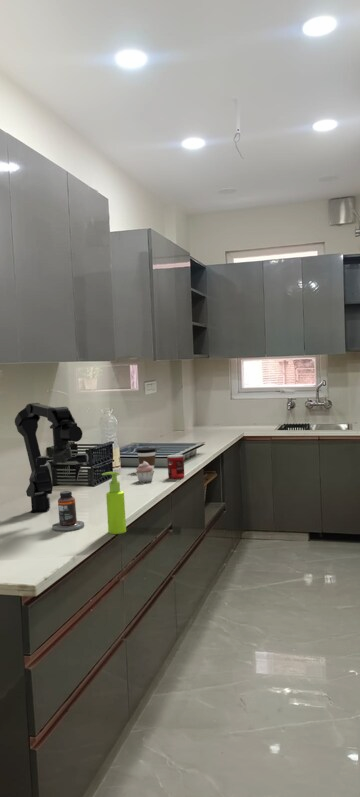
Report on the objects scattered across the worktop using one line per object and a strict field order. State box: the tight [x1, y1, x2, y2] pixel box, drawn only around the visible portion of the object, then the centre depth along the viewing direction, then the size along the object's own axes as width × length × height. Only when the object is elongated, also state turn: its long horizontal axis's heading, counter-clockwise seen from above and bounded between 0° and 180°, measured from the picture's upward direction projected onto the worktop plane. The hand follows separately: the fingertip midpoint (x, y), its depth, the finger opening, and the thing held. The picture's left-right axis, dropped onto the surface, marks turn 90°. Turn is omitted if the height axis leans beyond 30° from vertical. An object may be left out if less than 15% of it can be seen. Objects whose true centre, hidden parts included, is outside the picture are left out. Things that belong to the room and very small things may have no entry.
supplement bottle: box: [57, 490, 78, 526], centre depth 213 cm, size 6×6×11 cm
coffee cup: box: [135, 446, 157, 471], centre depth 325 cm, size 11×11×12 cm
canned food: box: [166, 453, 185, 480], centre depth 300 cm, size 8×8×11 cm
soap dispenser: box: [101, 471, 127, 535], centre depth 203 cm, size 6×7×20 cm
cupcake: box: [134, 461, 155, 483], centre depth 295 cm, size 9×9×10 cm
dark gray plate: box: [51, 520, 85, 533], centre depth 213 cm, size 11×11×1 cm
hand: (63, 482), depth 228 cm, fingers open, 9 cm apart
